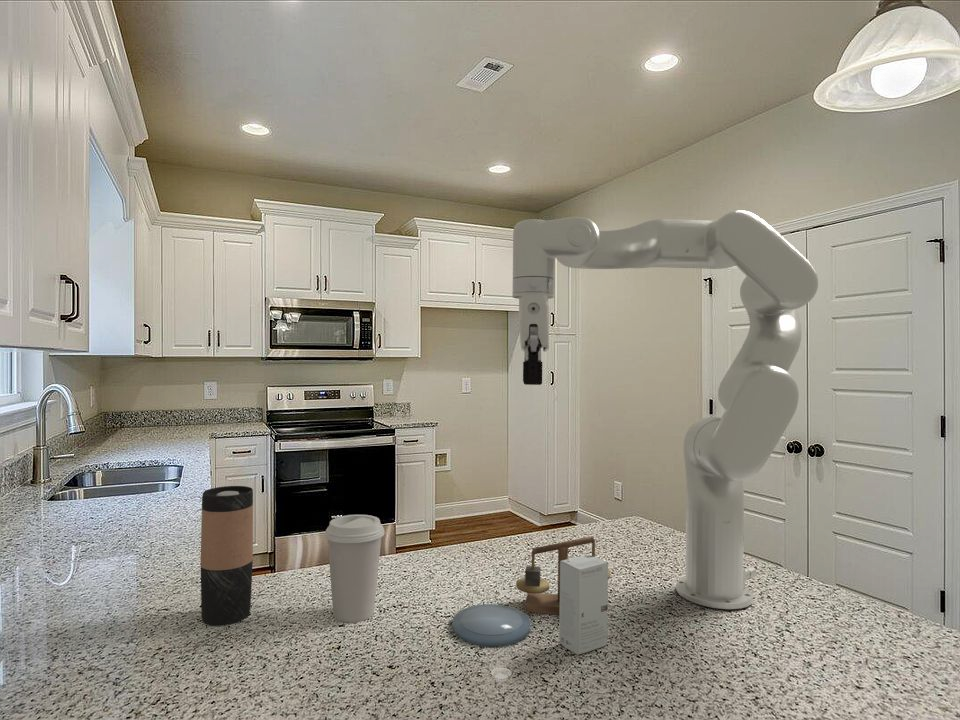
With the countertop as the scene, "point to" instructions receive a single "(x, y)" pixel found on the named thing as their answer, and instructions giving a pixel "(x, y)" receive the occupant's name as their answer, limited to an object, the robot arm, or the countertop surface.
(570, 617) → the skincare box
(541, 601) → the balance
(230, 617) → the travel mug
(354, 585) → the coffee cup
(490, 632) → the dish
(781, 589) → the countertop surface
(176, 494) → the countertop surface
